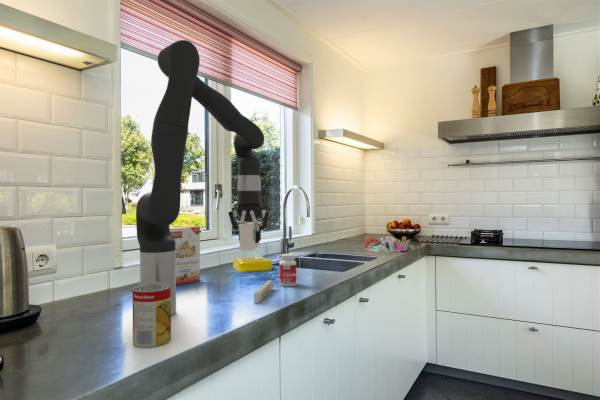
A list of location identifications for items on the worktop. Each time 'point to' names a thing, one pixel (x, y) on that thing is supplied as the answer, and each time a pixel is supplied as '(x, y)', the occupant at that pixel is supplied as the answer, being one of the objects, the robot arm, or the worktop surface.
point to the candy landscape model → (387, 244)
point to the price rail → (263, 291)
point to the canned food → (151, 315)
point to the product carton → (248, 237)
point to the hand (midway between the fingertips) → (249, 242)
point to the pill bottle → (287, 270)
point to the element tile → (252, 264)
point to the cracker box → (187, 253)
